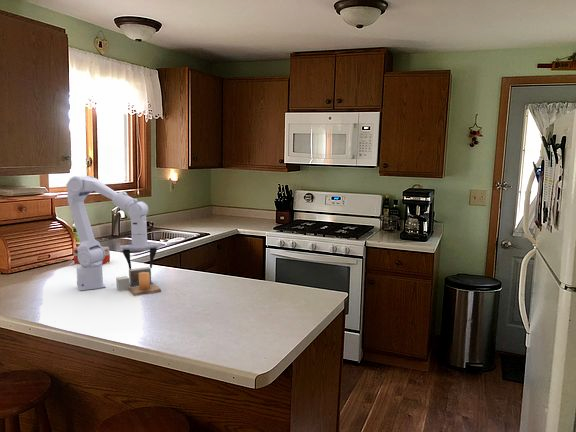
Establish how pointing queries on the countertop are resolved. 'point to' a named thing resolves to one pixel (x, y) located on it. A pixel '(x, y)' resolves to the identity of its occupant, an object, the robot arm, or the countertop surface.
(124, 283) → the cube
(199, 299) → the countertop surface
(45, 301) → the countertop surface
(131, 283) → the housing
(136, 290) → the mat
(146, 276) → the cylinder
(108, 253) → the medicine box
